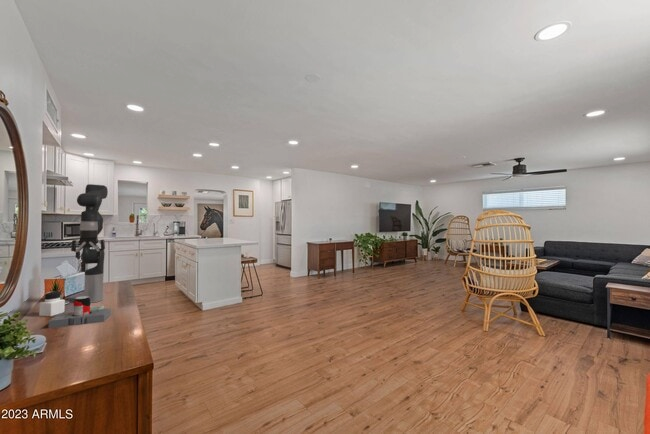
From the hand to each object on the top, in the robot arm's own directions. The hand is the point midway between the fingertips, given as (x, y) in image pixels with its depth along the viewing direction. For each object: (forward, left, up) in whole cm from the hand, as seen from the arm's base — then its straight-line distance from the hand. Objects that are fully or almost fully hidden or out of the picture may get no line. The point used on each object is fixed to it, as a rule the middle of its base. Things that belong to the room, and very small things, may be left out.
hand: (88, 258), depth 153 cm
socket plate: (+16, +3, -30) cm, 34 cm away
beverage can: (+16, +2, -30) cm, 34 cm away
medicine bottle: (-4, -16, -30) cm, 34 cm away
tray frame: (+3, +1, -30) cm, 30 cm away
